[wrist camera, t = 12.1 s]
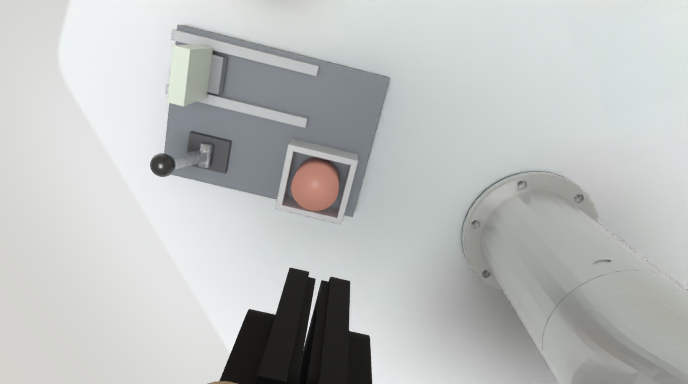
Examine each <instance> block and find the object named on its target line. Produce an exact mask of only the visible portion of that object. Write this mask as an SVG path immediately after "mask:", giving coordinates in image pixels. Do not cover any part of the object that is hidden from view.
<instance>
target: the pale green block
mask: <svg viewBox="0 0 688 384" xmlns="http://www.w3.org/2000/svg"><path fill="white" fill-rule="evenodd" d="M226 64H227V57H226V56H222V55H218V54H214V53H213V48H210V47H206V46H202V45H173V49H172V59H171V69H170V78H169V88H168V98H167V102H168V103H172V104H176V105H180V106H186V105H189V104H191V103H194V102H197V101H199V100H202V99H205V98H207V92H210V93H214V94H221V93H222V92H223V85H224V78H225V71H226Z"/></svg>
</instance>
